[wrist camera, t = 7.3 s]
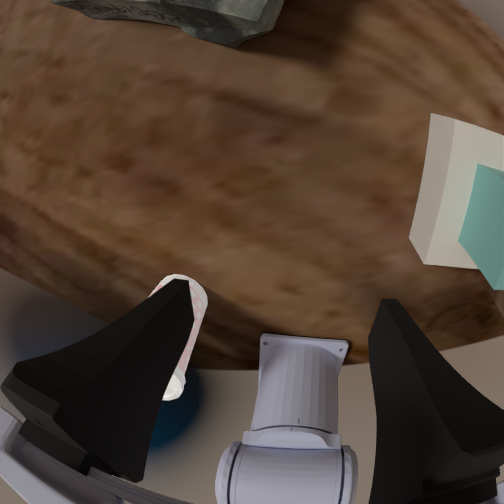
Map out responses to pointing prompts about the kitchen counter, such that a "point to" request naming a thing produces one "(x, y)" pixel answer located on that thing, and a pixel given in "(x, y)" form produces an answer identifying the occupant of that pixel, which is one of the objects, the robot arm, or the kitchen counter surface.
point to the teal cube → (486, 225)
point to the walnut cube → (497, 298)
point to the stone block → (191, 15)
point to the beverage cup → (199, 309)
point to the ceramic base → (450, 187)
